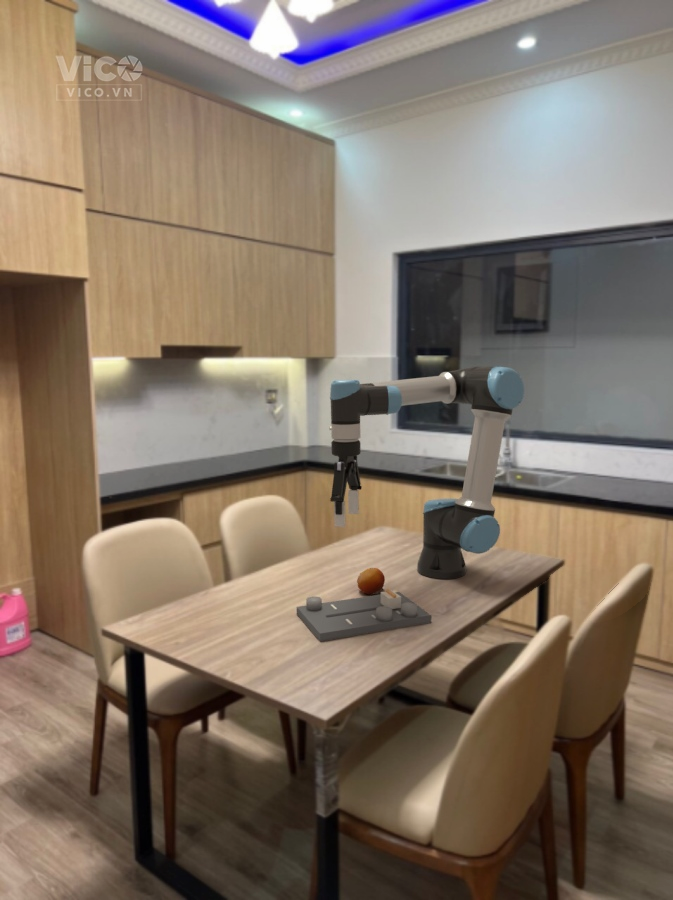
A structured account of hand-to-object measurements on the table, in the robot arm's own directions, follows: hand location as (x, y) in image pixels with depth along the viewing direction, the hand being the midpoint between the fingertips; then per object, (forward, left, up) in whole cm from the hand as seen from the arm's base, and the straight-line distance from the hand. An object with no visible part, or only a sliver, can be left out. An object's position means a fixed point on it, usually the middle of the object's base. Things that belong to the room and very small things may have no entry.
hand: (347, 519), depth 170 cm
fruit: (-11, -9, -25) cm, 29 cm away
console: (-1, +8, -24) cm, 26 cm away
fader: (-9, +8, -22) cm, 25 cm away
